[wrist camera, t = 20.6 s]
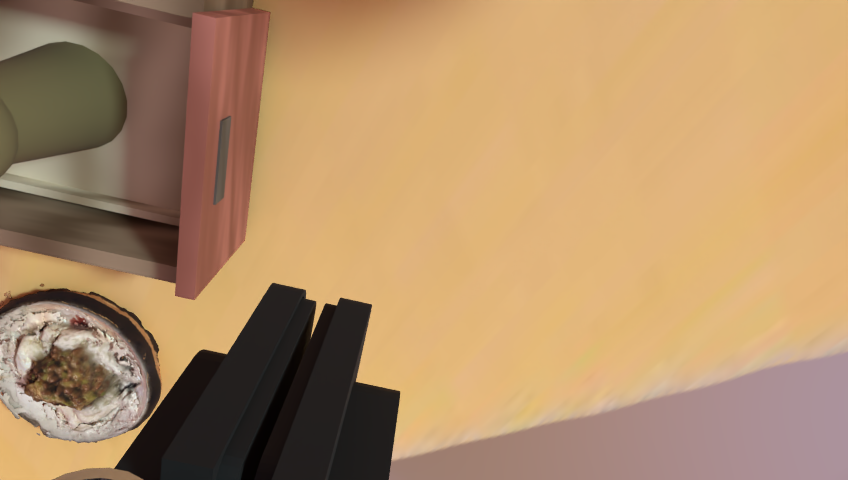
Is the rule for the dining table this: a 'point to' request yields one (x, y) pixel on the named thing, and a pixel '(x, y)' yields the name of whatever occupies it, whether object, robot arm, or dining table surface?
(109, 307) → the pie
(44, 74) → the olive green pawn
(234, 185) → the drawer
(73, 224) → the caddy
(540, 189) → the dining table surface
